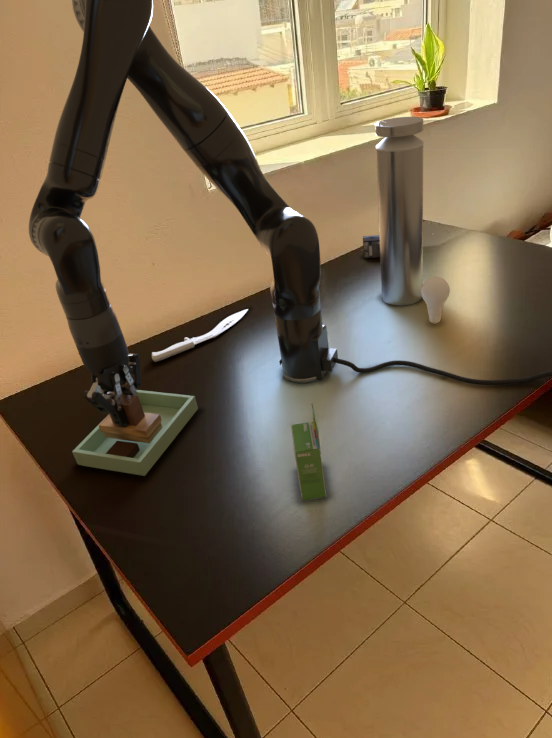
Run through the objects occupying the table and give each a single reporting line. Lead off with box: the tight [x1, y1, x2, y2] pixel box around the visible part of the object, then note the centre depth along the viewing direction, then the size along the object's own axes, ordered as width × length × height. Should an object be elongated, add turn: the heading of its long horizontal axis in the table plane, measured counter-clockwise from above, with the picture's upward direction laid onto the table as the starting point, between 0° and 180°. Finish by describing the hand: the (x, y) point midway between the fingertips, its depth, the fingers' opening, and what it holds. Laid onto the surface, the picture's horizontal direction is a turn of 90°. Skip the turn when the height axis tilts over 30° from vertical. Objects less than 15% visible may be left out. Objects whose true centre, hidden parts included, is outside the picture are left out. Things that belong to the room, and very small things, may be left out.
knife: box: [151, 308, 249, 363], centre depth 138 cm, size 30×2×8 cm
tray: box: [71, 389, 199, 477], centre depth 106 cm, size 14×20×4 cm
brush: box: [97, 394, 163, 443], centre depth 102 cm, size 10×5×8 cm, turn 71°
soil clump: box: [106, 441, 140, 458], centre depth 101 cm, size 4×4×2 cm
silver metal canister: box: [374, 116, 425, 307], centre depth 131 cm, size 10×10×40 cm
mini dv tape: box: [362, 234, 380, 259], centre depth 165 cm, size 8×2×6 cm, turn 80°
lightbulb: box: [421, 276, 451, 325], centre depth 126 cm, size 6×6×11 cm
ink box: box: [290, 402, 327, 501], centre depth 87 cm, size 7×4×13 cm, turn 5°
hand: (129, 418), depth 102 cm, fingers closed on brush, 3 cm apart
